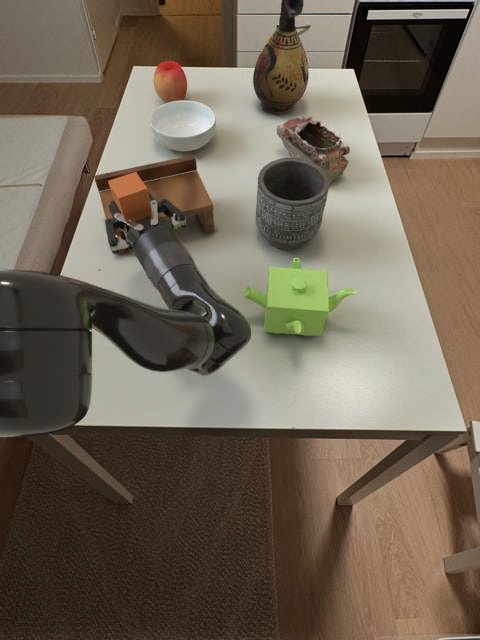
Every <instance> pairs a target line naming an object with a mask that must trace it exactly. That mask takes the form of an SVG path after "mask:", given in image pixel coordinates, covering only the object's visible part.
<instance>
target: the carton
mask: <svg viewBox="0 0 480 640" xmlns="http://www.w3.org/2000/svg"><path fill="white" fill-rule="evenodd" d="M108 183H109V186H110V189H111V193H112V196H113V199H114V201H115V203H116V204H117V206H118V208H119V210H120V211H121V214H122V215H123V216H125V217H129V218H131V219H132V220H134V221H136V220H141V219H143V218H145V217H147V216H150V207H151V203H150V199H149V194H148V190H147V187H146V186H145V184H144V183H143V182H142V180H141V179H140V177H139V176H138V174H137V173H136V172H134V173H131V174H128V175H125V176H122V177H119V178H115V179H112V180H109V181H108ZM122 233H123V234H124V236H125V237H126V236H127V235H126V233H125V232H124V231H123V232H122Z"/></svg>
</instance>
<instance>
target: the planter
mask: <svg viewBox="0 0 480 640" xmlns="http://www.w3.org/2000/svg"><path fill="white" fill-rule="evenodd" d="M330 183H331V182H330V180H329V177H328V174H327V173H326V171H325V170H324V169H323V168H322V167H320V166H319V165H317V164H315V163H313V162H311V161H308V160H305V159H300V158H290V157H283V158H282V157H281V158H278V159H275V160H273V161H270V162H268V163H266V164H265V165H264V166H263V167H262V168H261V169H260V170H259V173H258V176H257V188H256V189H257V190H256V207H255V225H256V228H257V230H258V231H259V233H260V235H261V236H262V237H263V238H264V239H265V241H267V243H268V244H269V245H270V246H273V247H274V248H276V249H278V250H283V251H292V250H297V249H299V248H301V247H303V246H305V245H306V244H307V243H309V242H310V241H311V240H313V239H314V238H315V237H316V236H317V234H318V233H319V232H320V229H321V225H322V220H323V217H324V212H325V208H326V204H327V200H328V199H327V198H328V194H329V191H330V185H331V184H330Z"/></svg>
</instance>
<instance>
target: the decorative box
mask: <svg viewBox="0 0 480 640" xmlns="http://www.w3.org/2000/svg"><path fill="white" fill-rule="evenodd" d="M276 135H277V136H278V137H279V139H280V140H281V142H282V145H283V147H284V148H285V149H286V150H287V153H288V156H289V158H300V159H305V160H308V161H311V162H313V163H315V164H317V165H319V166H320V167H322V168H323V169H324V170H325V171H326V173H327V174H328V177H329V180H330V183H331V182H332V181H334V179H337V178H339V177H341V176H342V175H343V174H344V172H345V170H346V168H347V167H348V165H349V163H350V161H349V160H348V159H347V158H346V156H347V155H348V154H350V152H351V147H350V146H349V145H348V144H347V143H344V142H343V141H342V138H343V137H342V135H341V133H340V132H339V131H338V130H336V129H335V128H334V127H333V126H331V125H330V124H327V123H325V122H323V121H321V120H316V119H314V117H312V116H309V117H307V118H305V117H303V116H301V115H299V116H297V117H295V118H292V119H290V118H289V119H288V120H287V121H285V122H284V123H282V124H279V125H277V127H276Z"/></svg>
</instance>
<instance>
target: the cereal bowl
mask: <svg viewBox="0 0 480 640" xmlns="http://www.w3.org/2000/svg"><path fill="white" fill-rule="evenodd" d="M149 123H150V125H149V126H150V128H151V131H152V134H153V136H154V138H155V139H156V140H157V142H158V143H159V144H161V146H163V147H165V148H167V149H169V150H172V151H177V152H192V151H196V150H199V149H201V148H203V147H204V146H205V145H207V144H208V143H209V142H210V141H211V139H212V138H213V136H214V135H215V131H216V125H217V124H216V123H217V117H216V114H215V112H214V111H213V109H212V108H211V107H209V106H208V105H206V104H205V103H202V102H199V101H194V100H188V99H187V100H185V99H182V100H179V101H173V102H169V103H166V102H164V103H163V104H161V105H160V106H158V107H156V108H155V109H153V111H152V113H151V114H150V117H149Z"/></svg>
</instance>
